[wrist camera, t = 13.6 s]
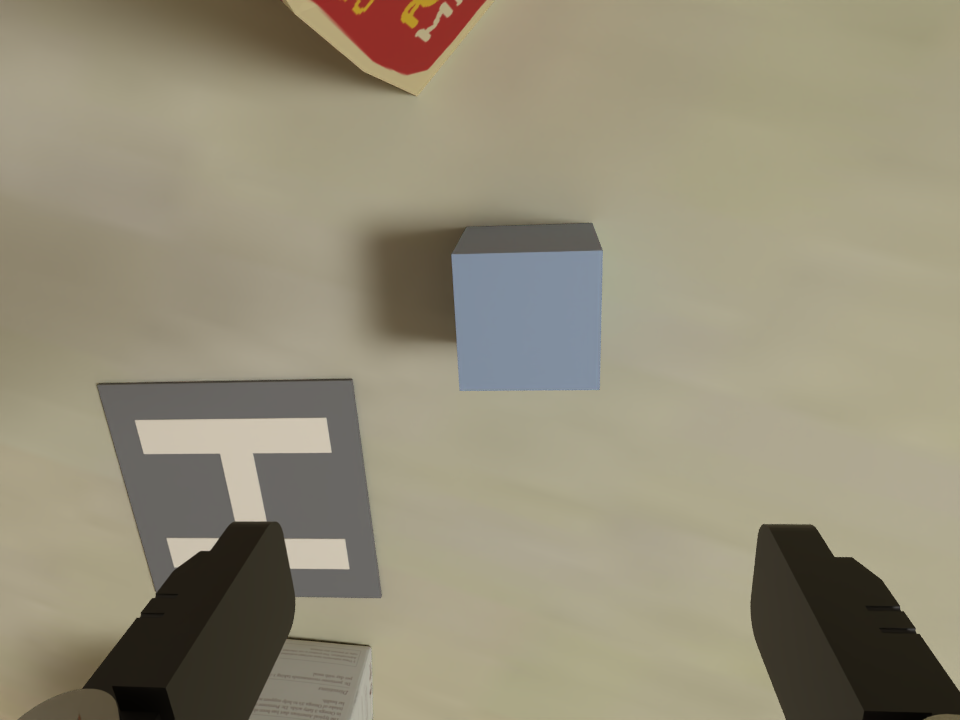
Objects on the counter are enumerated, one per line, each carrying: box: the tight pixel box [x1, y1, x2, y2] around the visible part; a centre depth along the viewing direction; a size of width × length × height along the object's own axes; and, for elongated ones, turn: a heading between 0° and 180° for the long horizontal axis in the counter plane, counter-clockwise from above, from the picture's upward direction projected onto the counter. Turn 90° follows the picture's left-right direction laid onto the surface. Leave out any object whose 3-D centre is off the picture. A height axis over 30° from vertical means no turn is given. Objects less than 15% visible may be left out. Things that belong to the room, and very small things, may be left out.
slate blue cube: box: [451, 223, 603, 391], centre depth 26 cm, size 5×5×5 cm
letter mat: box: [97, 379, 382, 598], centre depth 33 cm, size 12×12×1 cm
